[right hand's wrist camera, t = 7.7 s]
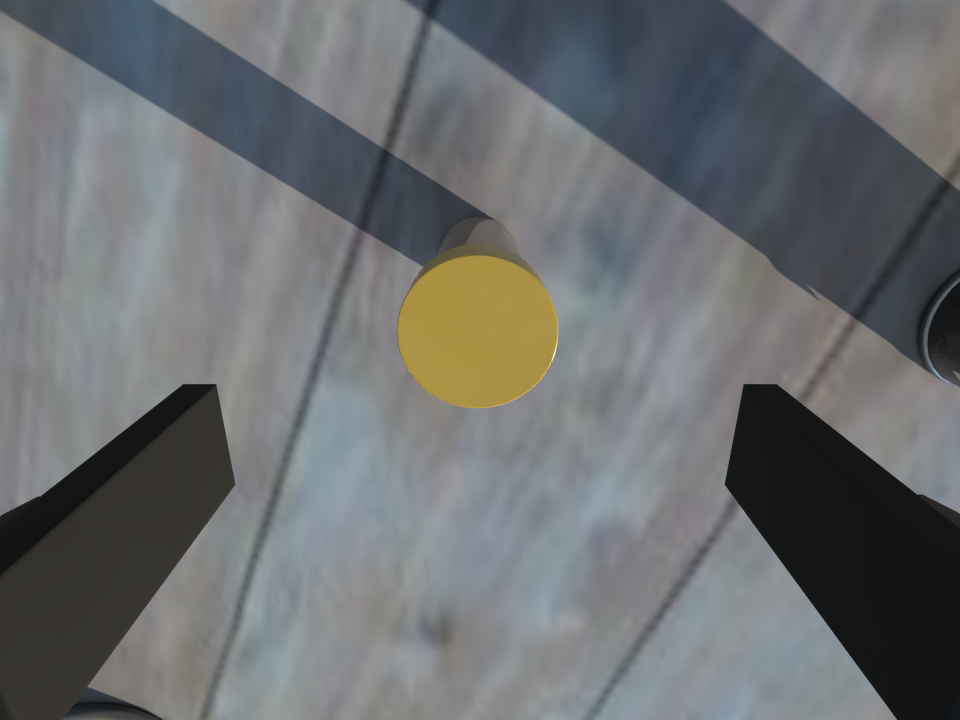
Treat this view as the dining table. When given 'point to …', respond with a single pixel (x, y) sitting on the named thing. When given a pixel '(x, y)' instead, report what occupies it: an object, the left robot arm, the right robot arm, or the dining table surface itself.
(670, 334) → the dining table surface
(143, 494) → the right robot arm
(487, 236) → the jar
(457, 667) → the dining table surface
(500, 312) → the lid
